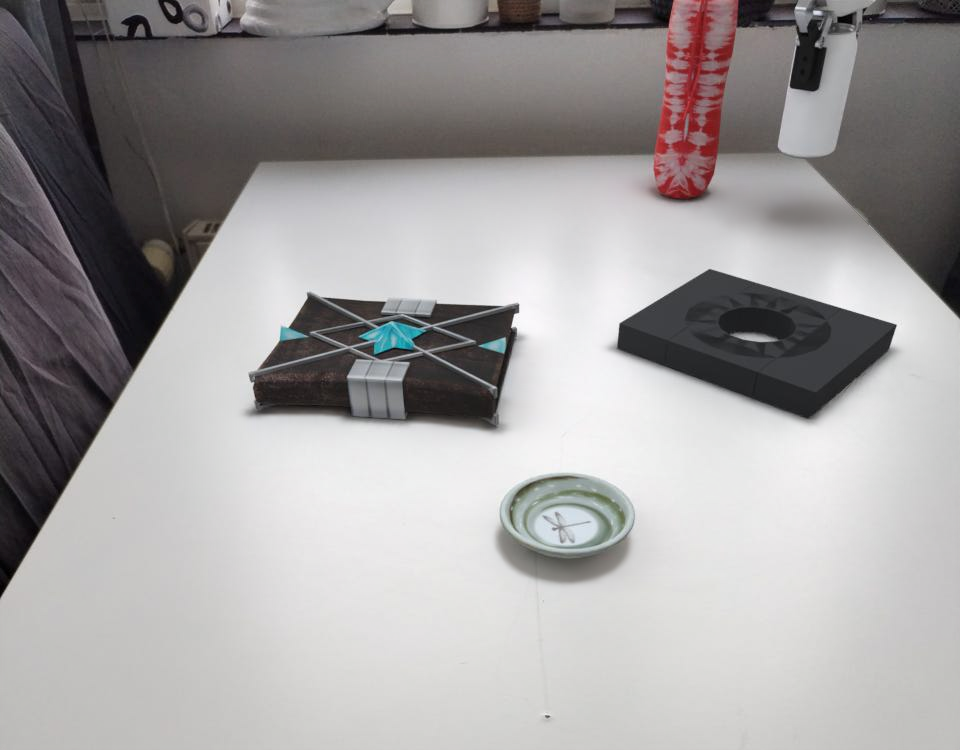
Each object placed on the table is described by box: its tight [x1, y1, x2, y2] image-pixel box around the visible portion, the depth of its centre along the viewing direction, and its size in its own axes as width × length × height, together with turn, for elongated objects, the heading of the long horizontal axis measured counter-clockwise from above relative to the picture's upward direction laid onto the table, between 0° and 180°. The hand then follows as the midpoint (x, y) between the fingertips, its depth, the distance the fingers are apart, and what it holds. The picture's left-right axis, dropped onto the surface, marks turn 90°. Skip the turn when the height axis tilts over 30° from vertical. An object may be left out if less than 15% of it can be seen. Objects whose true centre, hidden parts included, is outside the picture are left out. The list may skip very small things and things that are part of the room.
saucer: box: [499, 472, 636, 559], centre depth 64 cm, size 10×10×2 cm
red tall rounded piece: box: [653, 0, 739, 200], centre depth 107 cm, size 12×8×25 cm, turn 162°
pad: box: [616, 268, 897, 419], centre depth 84 cm, size 20×16×2 cm
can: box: [777, 21, 859, 160], centre depth 99 cm, size 6×6×12 cm
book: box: [247, 290, 520, 427], centre depth 81 cm, size 22×17×5 cm
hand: (819, 80), depth 98 cm, fingers closed on can, 6 cm apart
